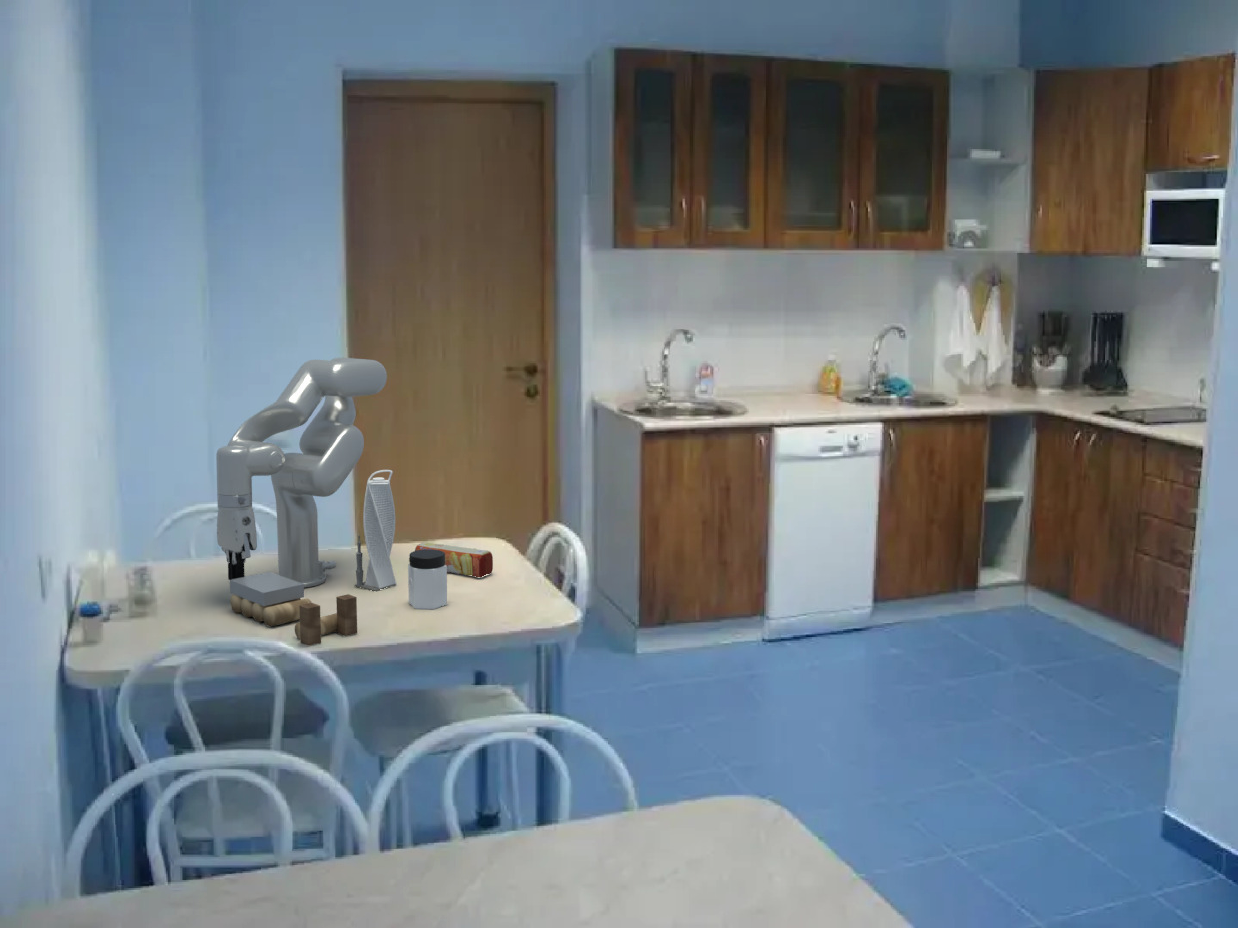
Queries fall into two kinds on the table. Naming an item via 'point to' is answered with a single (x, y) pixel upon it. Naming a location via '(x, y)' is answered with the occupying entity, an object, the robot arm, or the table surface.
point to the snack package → (463, 559)
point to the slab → (266, 588)
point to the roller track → (269, 610)
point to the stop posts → (312, 621)
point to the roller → (322, 625)
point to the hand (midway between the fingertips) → (236, 579)
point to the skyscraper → (377, 535)
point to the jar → (427, 579)
